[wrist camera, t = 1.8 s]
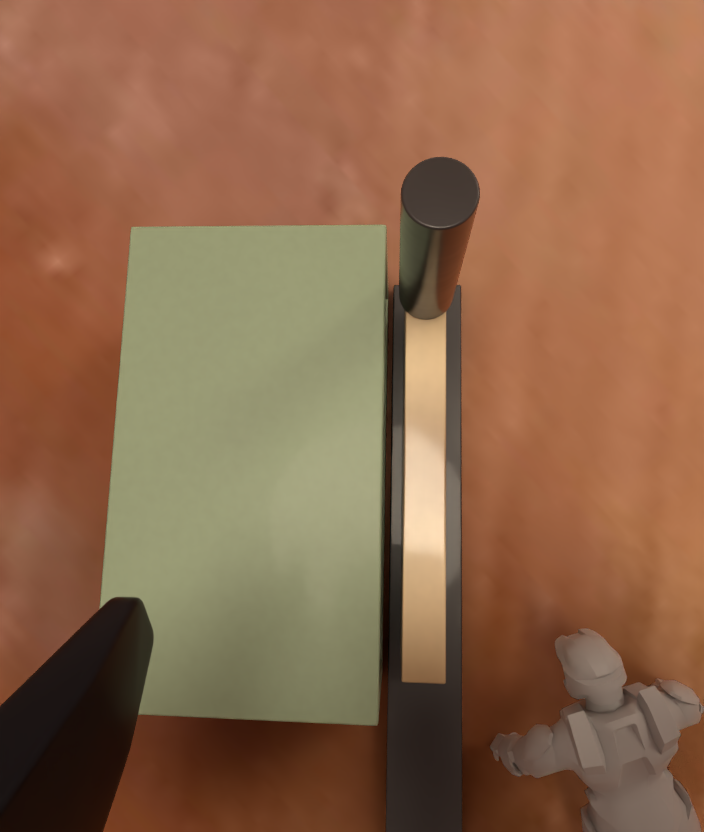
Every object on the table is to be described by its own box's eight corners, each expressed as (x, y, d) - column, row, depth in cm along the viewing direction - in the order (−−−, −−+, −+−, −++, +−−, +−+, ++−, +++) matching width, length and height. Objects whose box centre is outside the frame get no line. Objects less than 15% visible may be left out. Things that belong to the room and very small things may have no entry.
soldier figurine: (709, 841, 22) (627, 544, 20) (829, 1008, 17) (737, 632, 15) (542, 898, 22) (441, 610, 20) (610, 1082, 17) (484, 719, 15)
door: (442, 651, 21) (484, 776, 11) (394, 649, 21) (393, 772, 11) (442, 307, 23) (480, 146, 13) (398, 307, 23) (401, 146, 13)
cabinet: (460, 867, 21) (484, 993, 15) (151, 848, 21) (69, 961, 16) (459, 289, 24) (478, 223, 18) (188, 289, 24) (130, 225, 19)
